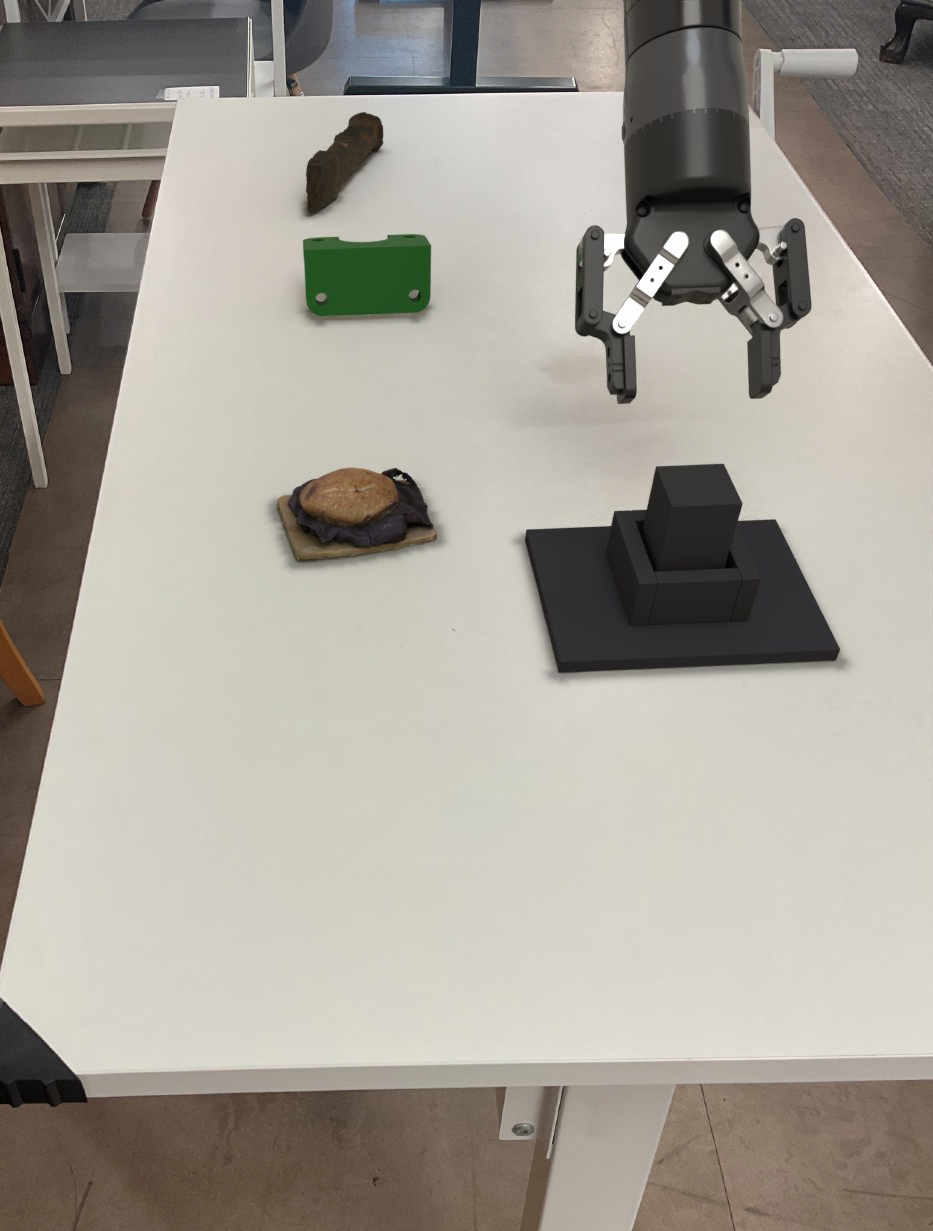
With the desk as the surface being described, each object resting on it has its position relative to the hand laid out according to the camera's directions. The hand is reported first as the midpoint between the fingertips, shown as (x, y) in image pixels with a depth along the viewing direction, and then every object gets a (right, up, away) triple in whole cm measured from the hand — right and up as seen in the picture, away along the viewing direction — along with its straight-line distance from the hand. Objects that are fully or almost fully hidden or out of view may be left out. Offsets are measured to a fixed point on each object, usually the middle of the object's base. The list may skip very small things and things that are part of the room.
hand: (694, 398), depth 75 cm
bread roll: (-21, -5, +12) cm, 25 cm away
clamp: (-20, +20, +35) cm, 45 cm away
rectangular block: (0, -11, +5) cm, 12 cm away
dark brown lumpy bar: (-22, +40, +53) cm, 70 cm away
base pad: (0, -12, +6) cm, 13 cm away
